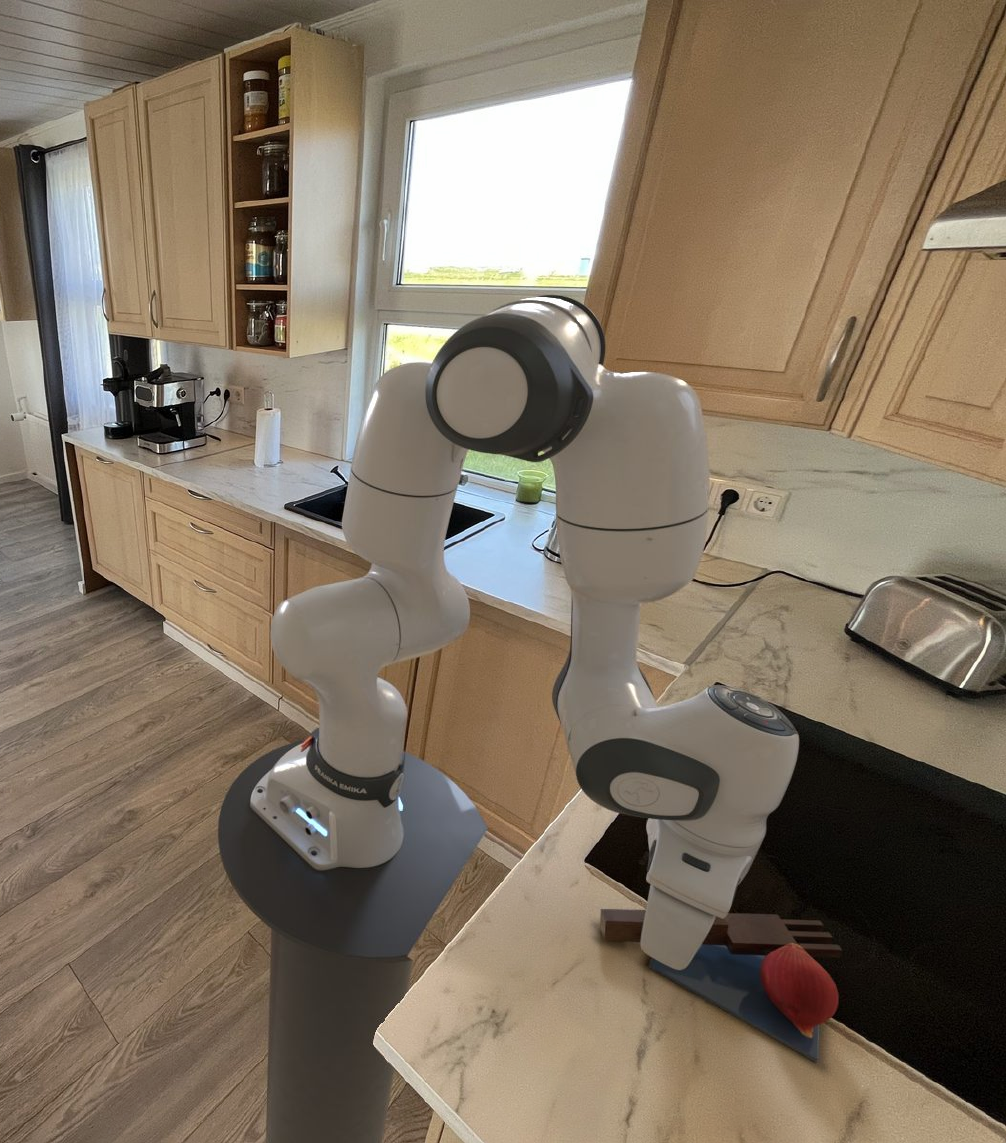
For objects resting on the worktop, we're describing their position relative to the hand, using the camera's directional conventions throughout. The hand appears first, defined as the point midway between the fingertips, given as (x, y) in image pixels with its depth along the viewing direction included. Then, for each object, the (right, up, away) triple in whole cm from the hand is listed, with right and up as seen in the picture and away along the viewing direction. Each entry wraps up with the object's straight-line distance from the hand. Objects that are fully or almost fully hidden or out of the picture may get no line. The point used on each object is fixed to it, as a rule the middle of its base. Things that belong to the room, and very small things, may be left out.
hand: (663, 924), depth 69 cm
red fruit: (+10, +1, -5) cm, 11 cm away
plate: (+7, -4, -1) cm, 8 cm away
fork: (+5, -1, 0) cm, 5 cm away
